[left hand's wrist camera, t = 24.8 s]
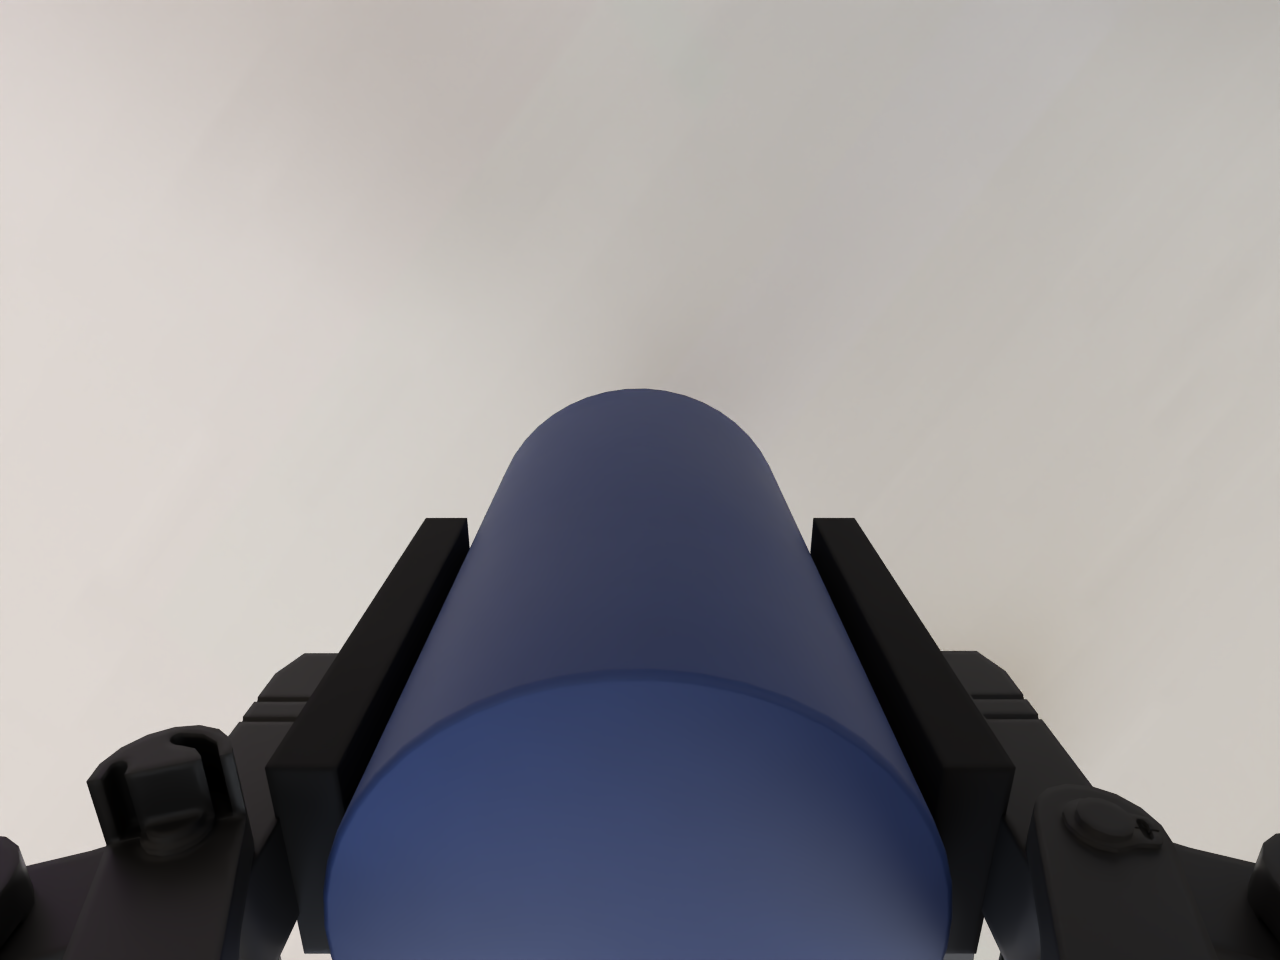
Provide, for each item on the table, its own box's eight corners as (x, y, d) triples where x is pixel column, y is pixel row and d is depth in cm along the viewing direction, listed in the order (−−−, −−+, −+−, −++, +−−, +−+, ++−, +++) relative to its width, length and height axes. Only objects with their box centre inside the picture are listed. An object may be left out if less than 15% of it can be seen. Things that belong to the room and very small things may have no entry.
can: (441, 541, 17) (201, 967, 8) (620, 325, 16) (590, 535, 6) (654, 693, 19) (669, 1206, 9) (840, 510, 17) (1089, 911, 8)
